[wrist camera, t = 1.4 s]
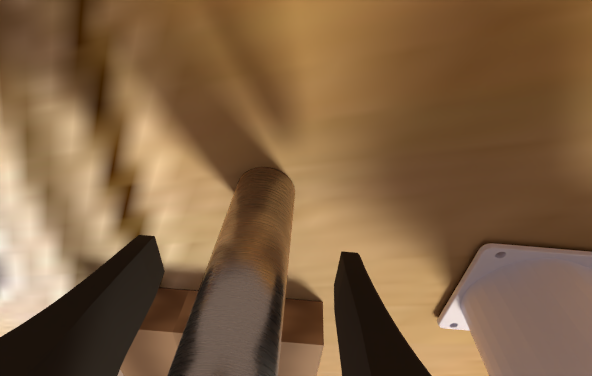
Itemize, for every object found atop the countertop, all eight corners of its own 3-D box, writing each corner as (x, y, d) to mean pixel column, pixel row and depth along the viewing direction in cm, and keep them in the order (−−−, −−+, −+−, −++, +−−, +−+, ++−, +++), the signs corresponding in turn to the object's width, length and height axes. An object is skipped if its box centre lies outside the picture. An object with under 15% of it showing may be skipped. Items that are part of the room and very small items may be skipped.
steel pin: (297, 169, 15) (273, 408, 7) (293, 216, 17) (271, 450, 9) (235, 164, 15) (140, 396, 7) (238, 211, 17) (164, 440, 9)
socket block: (322, 301, 21) (323, 345, 19) (305, 388, 29) (304, 427, 27) (120, 284, 21) (95, 325, 19) (159, 376, 29) (145, 413, 27)
